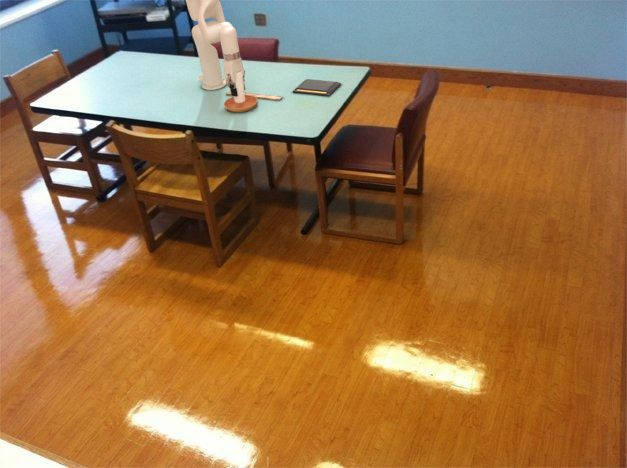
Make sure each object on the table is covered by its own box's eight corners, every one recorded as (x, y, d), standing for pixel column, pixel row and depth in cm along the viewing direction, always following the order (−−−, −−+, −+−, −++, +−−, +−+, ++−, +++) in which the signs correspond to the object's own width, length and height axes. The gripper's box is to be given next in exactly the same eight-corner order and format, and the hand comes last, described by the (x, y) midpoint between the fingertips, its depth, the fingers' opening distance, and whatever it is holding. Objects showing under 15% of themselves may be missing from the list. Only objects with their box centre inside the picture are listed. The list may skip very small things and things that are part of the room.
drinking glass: (244, 104, 279) (239, 73, 270) (231, 104, 281) (225, 74, 272) (248, 98, 285) (243, 67, 276) (235, 98, 286) (229, 68, 277)
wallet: (341, 80, 293) (328, 93, 283) (342, 84, 295) (328, 97, 284) (305, 76, 302) (291, 88, 291) (306, 80, 303) (291, 92, 292)
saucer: (237, 98, 293) (236, 92, 292) (264, 102, 286) (263, 96, 285) (218, 111, 283) (217, 106, 281) (246, 116, 276) (244, 110, 274)
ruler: (226, 94, 298) (226, 93, 297) (229, 92, 300) (229, 90, 300) (279, 100, 286) (279, 99, 286) (282, 98, 288) (282, 96, 288)
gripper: (234, 48, 277) (241, 85, 288) (214, 62, 265) (222, 100, 276) (248, 49, 274) (254, 86, 285) (228, 63, 262) (235, 101, 273)
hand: (238, 92), depth 280 cm, fingers closed on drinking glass, 6 cm apart
